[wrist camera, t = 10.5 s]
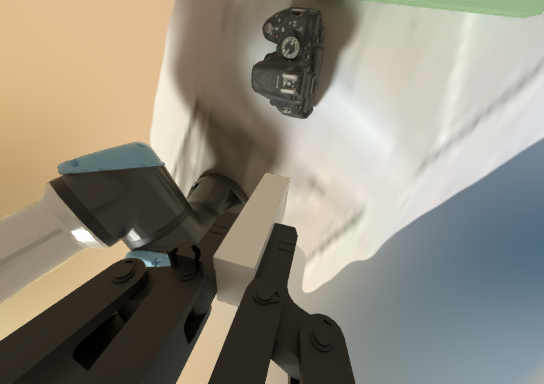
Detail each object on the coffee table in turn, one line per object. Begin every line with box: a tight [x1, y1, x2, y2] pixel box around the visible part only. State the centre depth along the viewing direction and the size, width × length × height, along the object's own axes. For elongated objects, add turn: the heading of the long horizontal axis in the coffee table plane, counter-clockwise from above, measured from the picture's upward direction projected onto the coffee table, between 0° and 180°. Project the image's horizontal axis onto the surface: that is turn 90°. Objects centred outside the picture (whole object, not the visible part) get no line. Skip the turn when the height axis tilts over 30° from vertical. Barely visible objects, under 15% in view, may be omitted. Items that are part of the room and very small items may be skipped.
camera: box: [251, 7, 324, 119], centre depth 29 cm, size 13×10×10 cm
